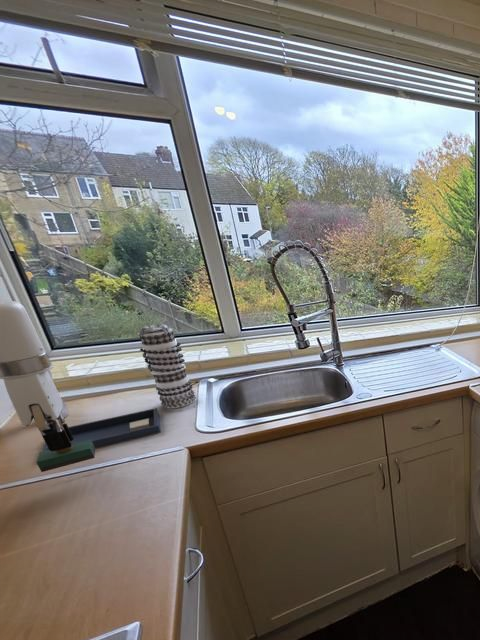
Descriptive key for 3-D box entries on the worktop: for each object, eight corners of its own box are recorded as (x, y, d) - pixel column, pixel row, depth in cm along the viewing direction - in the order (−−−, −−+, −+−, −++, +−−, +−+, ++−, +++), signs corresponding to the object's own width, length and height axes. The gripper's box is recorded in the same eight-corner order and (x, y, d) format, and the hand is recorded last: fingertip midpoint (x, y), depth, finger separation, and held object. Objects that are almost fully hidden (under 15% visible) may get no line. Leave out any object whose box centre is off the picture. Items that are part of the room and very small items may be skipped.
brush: (41, 472, 84) (19, 432, 80) (44, 461, 87) (23, 423, 84) (94, 458, 89) (76, 420, 85) (95, 448, 92) (78, 411, 89)
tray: (45, 462, 97) (41, 453, 96) (54, 439, 106) (49, 430, 105) (161, 434, 110) (158, 425, 109) (159, 415, 119) (156, 407, 118)
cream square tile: (131, 432, 109) (129, 428, 109) (131, 426, 112) (129, 422, 112) (150, 427, 112) (149, 423, 111) (149, 422, 115) (148, 418, 114)
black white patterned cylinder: (197, 406, 125) (172, 328, 115) (159, 413, 120) (129, 332, 111) (199, 396, 132) (176, 321, 122) (163, 402, 128) (135, 324, 118)
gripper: (3, 358, 83) (43, 436, 90) (-19, 382, 72) (29, 469, 79) (55, 351, 87) (90, 425, 95) (43, 372, 76) (83, 455, 83)
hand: (62, 444), depth 87 cm, fingers closed on brush, 2 cm apart
